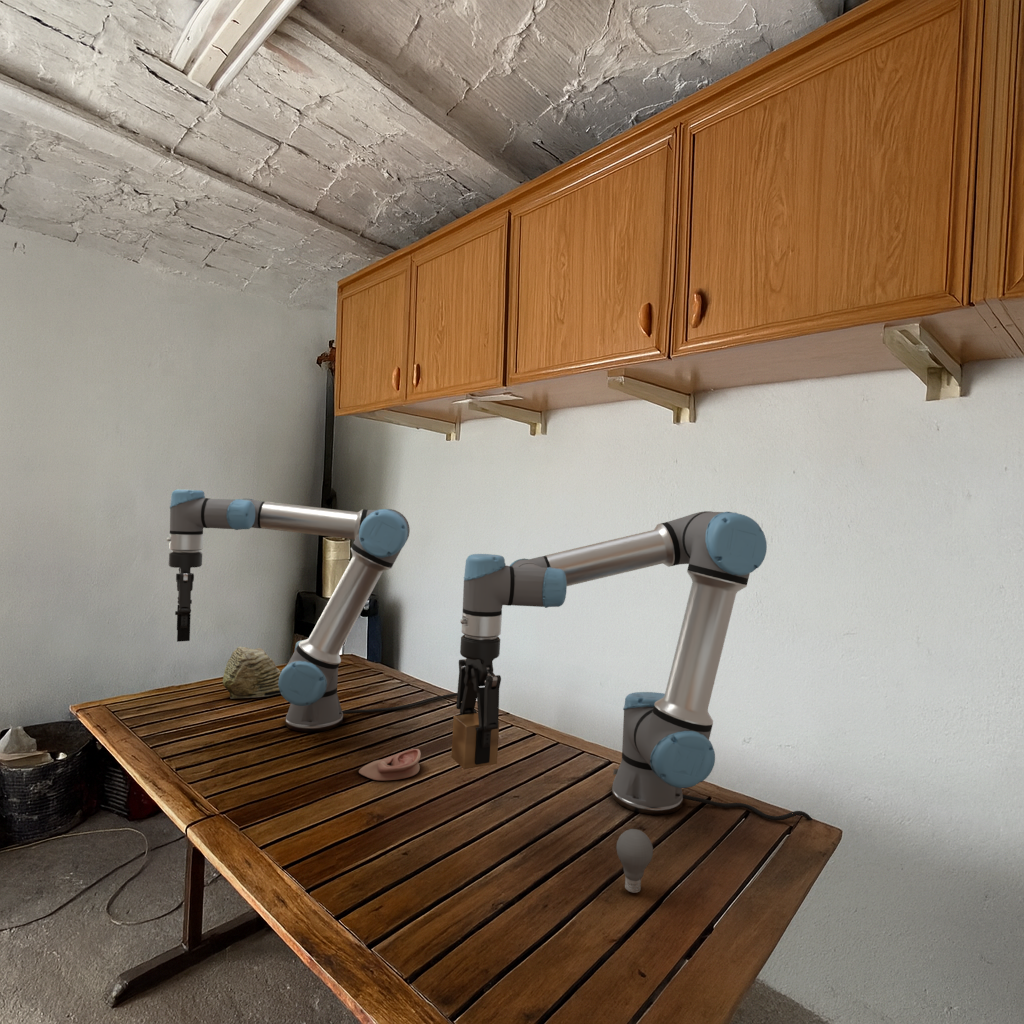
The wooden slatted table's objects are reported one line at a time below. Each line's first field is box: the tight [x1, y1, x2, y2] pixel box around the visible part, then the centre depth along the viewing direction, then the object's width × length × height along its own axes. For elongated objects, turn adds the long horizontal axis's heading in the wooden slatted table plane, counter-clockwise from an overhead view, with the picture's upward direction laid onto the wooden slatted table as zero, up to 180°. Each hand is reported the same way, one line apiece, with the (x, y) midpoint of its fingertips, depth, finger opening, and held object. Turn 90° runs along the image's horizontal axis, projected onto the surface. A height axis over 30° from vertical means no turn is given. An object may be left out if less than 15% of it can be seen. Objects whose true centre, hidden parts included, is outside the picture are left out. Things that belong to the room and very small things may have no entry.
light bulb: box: [615, 828, 654, 894], centre depth 106 cm, size 6×6×10 cm
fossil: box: [222, 646, 281, 699], centre depth 198 cm, size 9×18×15 cm, turn 132°
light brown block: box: [450, 712, 500, 770], centre depth 121 cm, size 6×7×8 cm
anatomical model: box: [358, 748, 422, 782], centre depth 147 cm, size 13×4×12 cm
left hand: (182, 635), depth 159 cm, fingers open, 13 cm apart
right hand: (474, 755), depth 121 cm, fingers closed on light brown block, 6 cm apart
